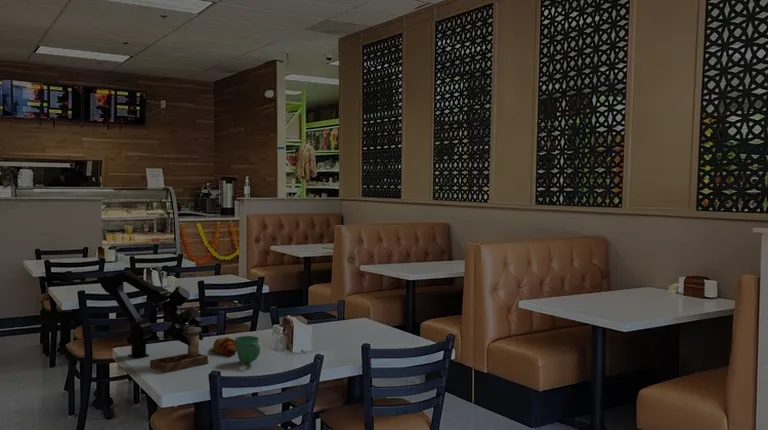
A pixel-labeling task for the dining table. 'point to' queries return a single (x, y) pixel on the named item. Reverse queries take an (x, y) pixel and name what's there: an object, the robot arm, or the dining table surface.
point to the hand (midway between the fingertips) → (195, 342)
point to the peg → (193, 341)
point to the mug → (247, 348)
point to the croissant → (225, 346)
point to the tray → (177, 362)
